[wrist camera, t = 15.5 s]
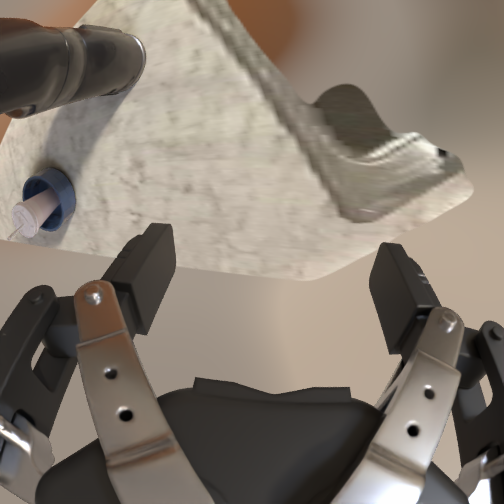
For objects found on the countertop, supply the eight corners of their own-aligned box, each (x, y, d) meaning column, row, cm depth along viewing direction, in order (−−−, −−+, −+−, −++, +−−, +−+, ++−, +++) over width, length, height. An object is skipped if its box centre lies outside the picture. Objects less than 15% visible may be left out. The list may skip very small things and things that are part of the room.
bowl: (29, 185, 43) (15, 195, 39) (55, 155, 39) (39, 164, 36) (58, 227, 48) (45, 240, 44) (87, 203, 45) (73, 215, 41)
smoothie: (50, 213, 46) (6, 254, 34) (39, 184, 42) (-10, 221, 30) (71, 208, 45) (25, 251, 33) (59, 176, 41) (8, 214, 30)
